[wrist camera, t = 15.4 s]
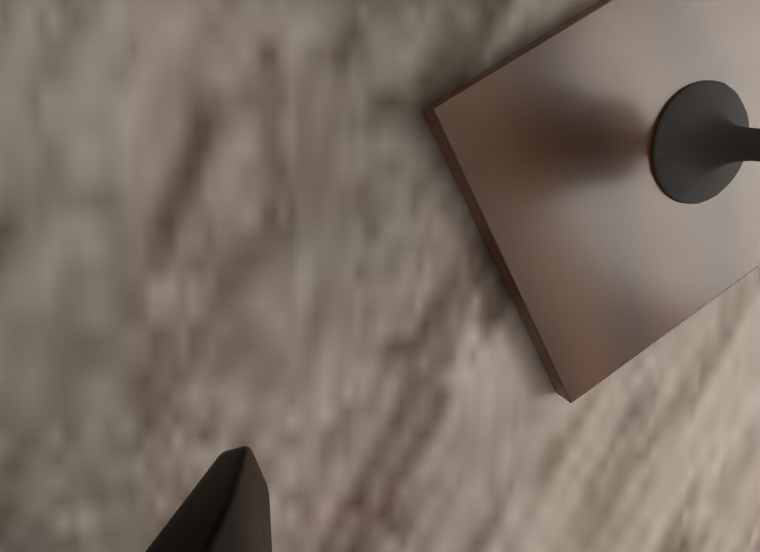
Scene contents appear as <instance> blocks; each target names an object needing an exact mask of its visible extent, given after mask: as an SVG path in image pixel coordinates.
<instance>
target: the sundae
mask: <svg viewBox="0 0 760 552" xmlns="http://www.w3.org/2000/svg"><path fill="white" fill-rule="evenodd" d="M743 161H757V162H760V128H750V127H749V120H748V115H747V112H746V109H745V107H744V105H743V103H742V101H741V99H740V97H739V95H738V94H737V93H736V92H735V91H734V90H733V89H732V88H731V87H729V86H728V85H726V84H725V83H723V82H719V81H714V80H703V81H700V82H697V83H694V84H692V85H690V86H688V87H686V88H685V89H684V90H682V91H681V92H680V93H679V94H678V95H677V96H676V97H675V98H674V99H673V100H672V101H671V102H670V104H669V105H668V106H667V108H666V110H665V112H664V113H663V115H662V117H661V119H660V122H659V124H658V126H657V129H656V133H655V138H654V144H653V163H654V168H655V173H656V176H657V178H658V180H659V182H660V184H661V186H662V188H663V189H664V191H665V192H666V193H667V194H668V195H669V196H671V197H672V198H673V199H675V200H677V201H679V202H681V203H687V204H698V203H702V202H704V201H707V200H709V199H711V198H713V197H715V196H717V195H718V194H719V193H720V192H721V191H722V190H723V189H724V188H726V187H727V185H728V184H729V183H730V182H731V181H732V180H733V179H734V178H735V176H736V174H737V173H738V171H739V170H740V168H741V166H742V163H743Z"/></svg>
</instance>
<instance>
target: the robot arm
mask: <svg viewBox="0 0 760 552" xmlns="http://www.w3.org/2000/svg"><path fill="white" fill-rule="evenodd" d="M146 552H272V543H271V523H270V502H269V492H268V487H267V484H266V481H265V479H264V477H263V474H262V472H261V470H260V468H259V465H258V463H257V461H256V458H255V456H254V454H253V452H252V450H251V449H250V448H249V447H247V446H243V447H239V448H235V449H231V450H228V451H225V452H223V453H221V455H220V456H219V457H218V458H217V459H216V461H215V462H214V463H213V465H212V466H211V467H210V468H209V470H208V471H207V472H206V474H205V475H204V476H203V478H202V479H201V480H200V481H199V483H198V484H197V485H196V487H195V488H194V489H193V491H192V492H191V493H190V494H189V496H188V497H187V498H186V500H185V501H184V502H183V504H182V505H181V506H180V507H179V509H178V510H177V511H176V513H175V514H174V515H173V517H172V518H171V519H170V520H169V522H168V523H167V524H166V526H165V527H164V528H163V529H162V531H161V532H160V533H159V535H158V536H157V537H156V539H155V540H154V541H153V542H152V544H151V545H150V546H149V548H148V549H147V550H146Z"/></svg>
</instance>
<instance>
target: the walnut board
mask: <svg viewBox="0 0 760 552" xmlns="http://www.w3.org/2000/svg"><path fill="white" fill-rule="evenodd" d="M703 80H714V81H719V82H723V83H725V84H726V85H728V86H729V87H731V88H732V89H733V90H734V91H735V92H736V93H737V94H738V95H739V97H740V99H741V101H742V103H743V105H744V107H745V109H746V112H747V115H748V120H749V127H750V128H760V0H601V1H600V2H598V3H596V4H595V5H593V6H591V7H590V8H588V9H586V10H585V11H583V12H582V13H580V14H578V15H577V16H575V17H573V18H572V19H570V20H568V21H567V22H565V23H563V24H562V25H560V26H559V27H557V28H555V29H554V30H552V31H550V32H549V33H547V34H545V35H544V36H542V37H540V38H539V39H537V40H536V41H534V42H532V43H531V44H529V45H527V46H526V47H524V48H522V49H521V50H519V51H517V52H516V53H514V54H513V55H511V56H509V57H508V58H506V59H504V60H503V61H501V62H499V63H498V64H496V65H494V66H493V67H491V68H490V69H488V70H486V71H485V72H483V73H481V74H480V75H478V76H476V77H475V78H473V79H471V80H470V81H468V82H467V83H465V84H463V85H462V86H460V87H458V88H457V89H455V90H453V91H452V92H450V93H448V94H447V95H445V96H444V97H442V98H440V99H439V100H437V101H435V102H434V103H432V104H430V105H429V106H427V107H425V108H424V109H423V112H424V114H425V116H426V118H427V121H428V123H429V125H430V127H431V129H432V131H433V133H434V135H435V137H436V139H437V142H438V144H439V146H440V148H441V150H442V152H443V154H444V156H445V158H446V160H447V162H448V165H449V167H450V169H451V171H452V173H453V175H454V177H455V179H456V181H457V183H458V186H459V188H460V190H461V192H462V194H463V196H464V198H465V200H466V202H467V204H468V207H469V209H470V211H471V213H472V215H473V217H474V219H475V221H476V223H477V225H478V228H479V230H480V232H481V234H482V236H483V238H484V240H485V242H486V244H487V246H488V249H489V251H490V253H491V255H492V257H493V259H494V261H495V263H496V265H497V267H498V270H499V272H500V274H501V276H502V278H503V280H504V282H505V284H506V286H507V288H508V290H509V293H510V295H511V297H512V299H513V301H514V303H515V305H516V307H517V309H518V311H519V314H520V316H521V318H522V320H523V322H524V324H525V326H526V328H527V330H528V332H529V335H530V337H531V339H532V341H533V343H534V345H535V347H536V349H537V351H538V353H539V356H540V358H541V360H542V362H543V364H544V366H545V368H546V370H547V372H548V374H549V377H550V379H551V381H552V383H553V385H554V387H555V389H556V391H557V393H558V394H559V395H560V396H562V397H563V398H565V399H566V400H567V401H569V402H570V403H572V402H573V401H575V400H576V399H577V398H579V397H580V396H581V395H583V394H584V393H586V392H587V391H588V390H590V389H591V388H592V387H594V386H595V385H597V384H598V383H599V382H601V381H602V380H603V379H605V378H606V377H607V376H609V375H610V374H612V373H613V372H614V371H616V370H617V369H618V368H620V367H621V366H622V365H624V364H625V363H627V362H628V361H629V360H631V359H632V358H633V357H635V356H636V355H638V354H639V353H640V352H642V351H643V350H644V349H646V348H647V347H648V346H650V345H651V344H653V343H654V342H655V341H657V340H658V339H659V338H661V337H662V336H664V335H665V334H666V333H668V332H669V331H670V330H672V329H673V328H674V327H676V326H677V325H679V324H680V323H681V322H683V321H684V320H685V319H687V318H688V317H689V316H691V315H692V314H694V313H695V312H696V311H698V310H699V309H700V308H702V307H703V306H705V305H706V304H707V303H709V302H710V301H711V300H713V299H714V298H715V297H717V296H718V295H720V294H721V293H722V292H724V291H725V290H726V289H728V288H729V287H731V286H732V285H733V284H735V283H736V282H737V281H739V280H740V279H741V278H743V277H744V276H746V275H747V274H748V273H750V272H751V271H752V270H754V269H755V268H756V267H758V266H759V265H760V162H757V161H743V163H742V166H741V168H740V170H739V171H738V173H737V174H736V176H735V178H734V179H733V180H732V181H731V182H730V183H729V184H728V185H727V187H726V188H724V189H723V190H722V191H721V192H720V193H719V194H718V195H717V196H715V197H713V198H711V199H709V200H707V201H704V202H702V203H698V204H687V203H681V202H679V201H677V200H675V199H673V198H672V197H671V196H669V195H668V194H667V193H666V192H665V191H664V189H663V188H662V186H661V184H660V182H659V180H658V178H657V176H656V173H655V168H654V163H653V144H654V138H655V133H656V129H657V126H658V124H659V122H660V119H661V117H662V115H663V113H664V112H665V110H666V108H667V106H668V105H669V104H670V102H671V101H672V100H673V99H674V98H675V97H676V96H677V95H678V94H679V93H680V92H681V91H682V90H684V89H685V88H686V87H688V86H690V85H692V84H694V83H697V82H700V81H703Z"/></svg>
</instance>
